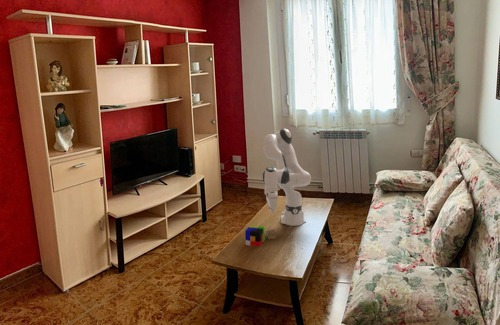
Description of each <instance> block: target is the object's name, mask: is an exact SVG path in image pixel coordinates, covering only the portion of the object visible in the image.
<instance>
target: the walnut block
mask: <svg viewBox="0 0 500 325" xmlns="http://www.w3.org/2000/svg"><path fill="white" fill-rule="evenodd" d="M266 237H267V239H268V240H275V239H276V231H275V229H273V228H272V229H266Z"/></svg>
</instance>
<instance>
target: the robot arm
mask: <svg viewBox="0 0 500 325" xmlns="http://www.w3.org/2000/svg"><path fill="white" fill-rule="evenodd" d="M292 139H293V135H292V133H291V131H290V130H289V129H288V128H283V129H280V130H278V131H277V132H275V133H269V134H267V135H265V137H264V140H263V145H262V146H263V149H262V150H263V155H264V156H265V157H266V158H267V159H269V160H271V161H272V160H273V161H275V162H278V163H279V165H280V168H281V169H277V167H274V166H270V167H269V166H268V167H266V168H265V170H264V171H263V172H262V182H263V183H264V195H265V196H266V198H265V199H266V202H267V204H268V210H270V214H271V215H272V214H273V215H274V212H275V210H276V209H277V204H278V197H279V196H278V193H279V192H278V191H279V190H278V187H280V188H281V189H282V190H283V192H284V193H285V200H286V201H285V202H286V203H285V209H284V210H283V211H282V212H281V216H280V218H281V219H280V223H281V224H284V225H287V226H291V227H293V226H294V227H296V226H297V227H298V226H300V225H303V224H305V223H307V221H306V219H305V217H304V216H305V215H304V212H305V211H303V206H302V194H301V193H300V192H299V191H297V190H295V188H297V187H298V188H299V187H306V186H308V185H310V184H311V181H312V175H311V174H310V173H309V172H308V171H306V170H304V169H303V168H302V166H300V164H299V162H298V159H297V158H298V157H297V155H296V151H295V149H294V147H293V144H292V141H293V140H292Z"/></svg>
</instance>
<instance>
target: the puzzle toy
mask: <svg viewBox="0 0 500 325" xmlns="http://www.w3.org/2000/svg"><path fill="white" fill-rule="evenodd" d="M244 232H245V245H246V246H251V245H252V247H259V246H260V247H261V246H262V245H263V243H264V242H265V226H262V225H261V226H260V225H252V224H251V225H249V226H248V227H247V228H246V230H245V231H244ZM261 244H262V245H261Z"/></svg>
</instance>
